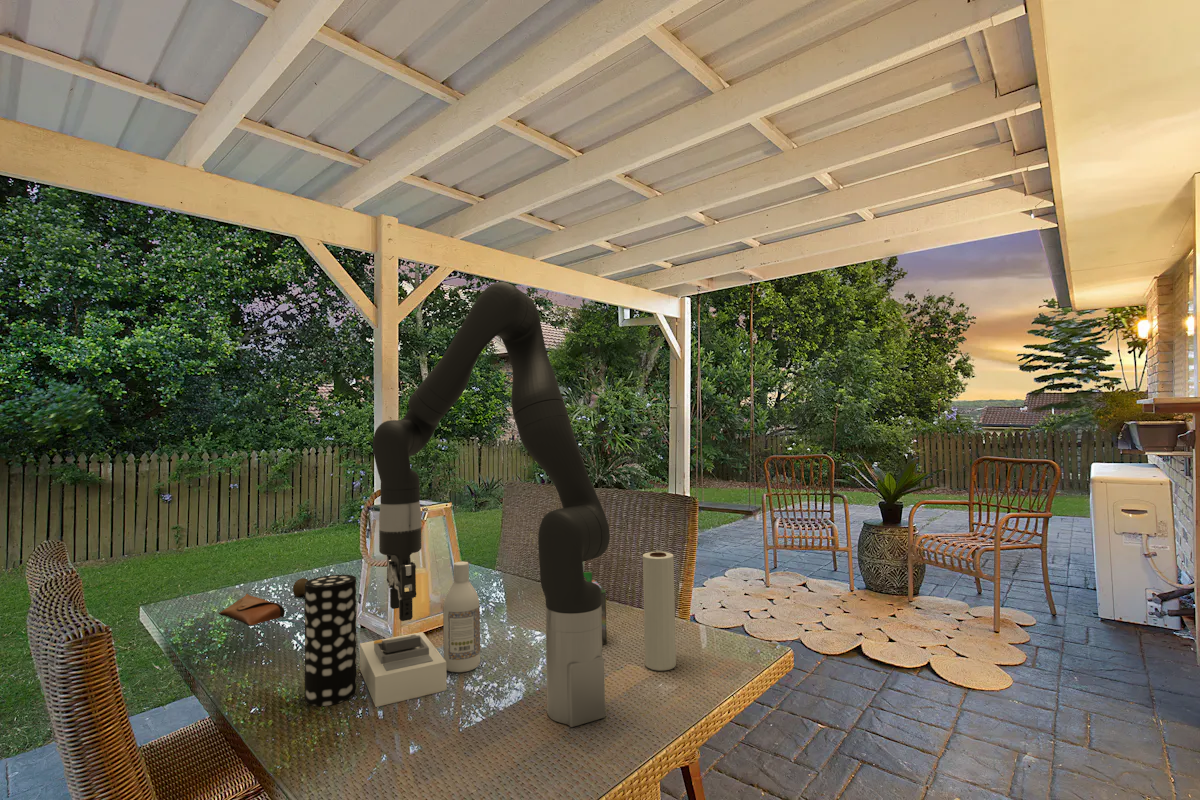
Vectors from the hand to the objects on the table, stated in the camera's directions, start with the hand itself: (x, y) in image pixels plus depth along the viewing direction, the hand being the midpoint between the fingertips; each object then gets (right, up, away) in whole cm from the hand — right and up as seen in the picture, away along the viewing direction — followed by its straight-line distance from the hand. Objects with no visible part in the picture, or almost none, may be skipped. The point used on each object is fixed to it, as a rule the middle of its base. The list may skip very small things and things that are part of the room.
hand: (401, 613), depth 112 cm
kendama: (-38, -15, +52) cm, 67 cm away
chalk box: (+33, -12, +18) cm, 40 cm away
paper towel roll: (+49, -12, +4) cm, 51 cm away
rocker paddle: (0, -6, 0) cm, 6 cm away
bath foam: (+10, -12, +5) cm, 17 cm away
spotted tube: (-10, -12, -6) cm, 17 cm away
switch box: (0, -12, 0) cm, 12 cm away
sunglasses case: (-51, -15, +40) cm, 66 cm away
